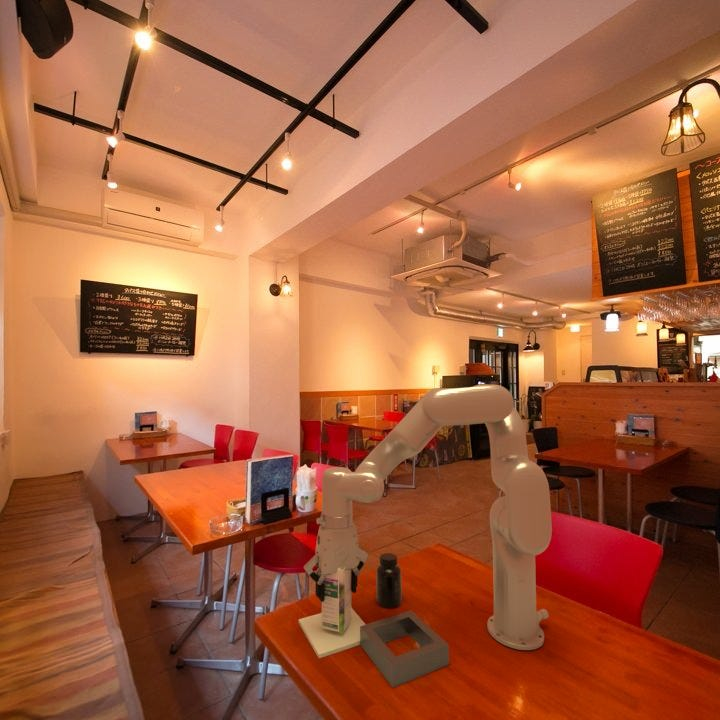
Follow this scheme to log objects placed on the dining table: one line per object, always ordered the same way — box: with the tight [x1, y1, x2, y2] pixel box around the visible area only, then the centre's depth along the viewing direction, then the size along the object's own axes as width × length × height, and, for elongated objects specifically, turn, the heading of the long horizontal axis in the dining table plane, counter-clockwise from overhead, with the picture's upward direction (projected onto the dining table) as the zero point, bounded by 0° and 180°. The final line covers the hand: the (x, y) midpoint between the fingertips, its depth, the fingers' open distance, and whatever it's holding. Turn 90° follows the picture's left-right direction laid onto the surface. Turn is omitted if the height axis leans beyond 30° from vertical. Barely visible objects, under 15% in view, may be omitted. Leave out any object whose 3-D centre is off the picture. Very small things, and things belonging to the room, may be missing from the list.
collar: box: [359, 610, 450, 688], centre depth 85 cm, size 14×14×4 cm
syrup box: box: [321, 566, 352, 633], centre depth 93 cm, size 6×6×14 cm
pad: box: [298, 607, 367, 659], centre depth 92 cm, size 14×14×1 cm
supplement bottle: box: [375, 552, 403, 609], centre depth 105 cm, size 7×7×12 cm
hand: (336, 594), depth 93 cm, fingers closed on syrup box, 7 cm apart
